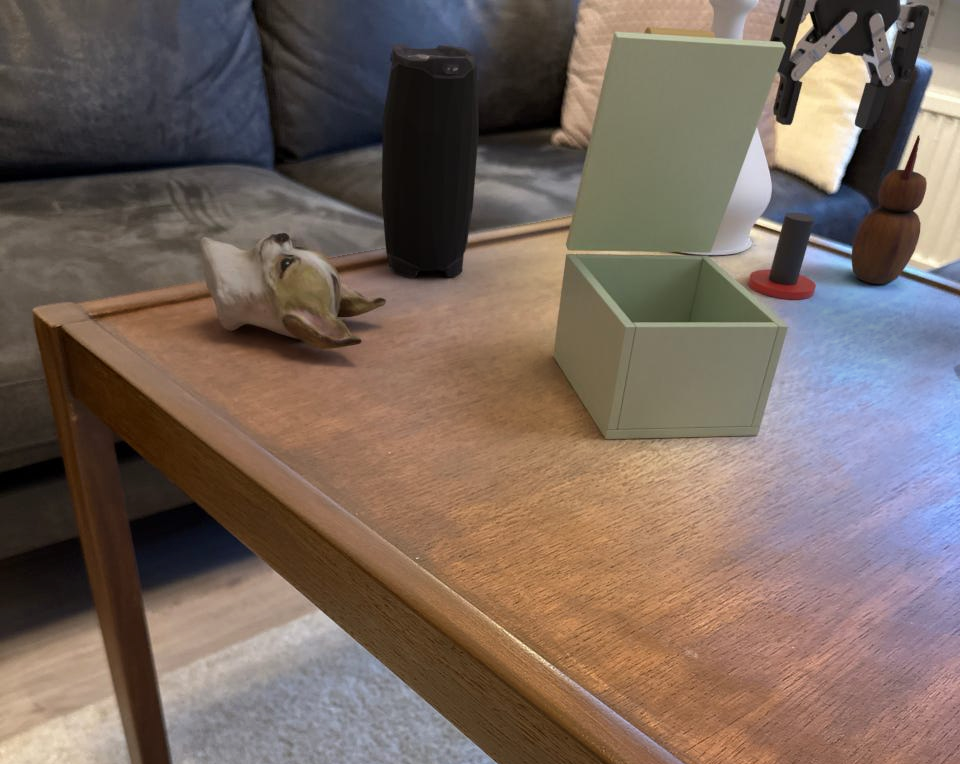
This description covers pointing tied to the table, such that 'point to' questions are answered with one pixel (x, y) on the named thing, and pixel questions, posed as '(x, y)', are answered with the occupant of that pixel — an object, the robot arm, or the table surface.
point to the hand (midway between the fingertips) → (823, 125)
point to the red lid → (787, 262)
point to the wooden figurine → (890, 226)
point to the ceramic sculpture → (282, 291)
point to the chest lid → (669, 139)
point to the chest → (665, 346)
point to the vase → (754, 178)
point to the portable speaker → (429, 158)
